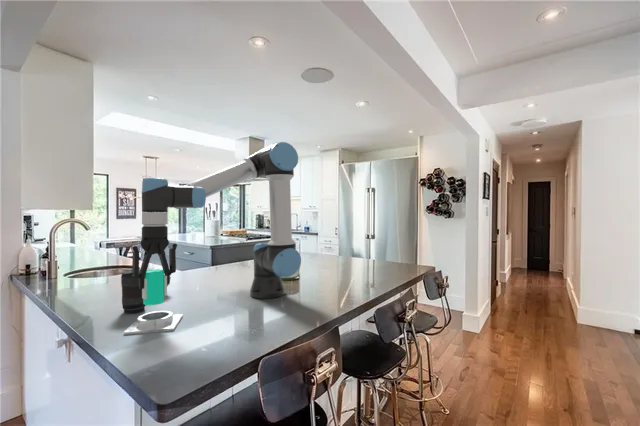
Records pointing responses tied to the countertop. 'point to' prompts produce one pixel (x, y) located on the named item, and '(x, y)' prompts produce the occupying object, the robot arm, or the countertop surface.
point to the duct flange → (154, 323)
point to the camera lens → (131, 293)
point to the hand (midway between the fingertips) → (154, 296)
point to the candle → (154, 287)
